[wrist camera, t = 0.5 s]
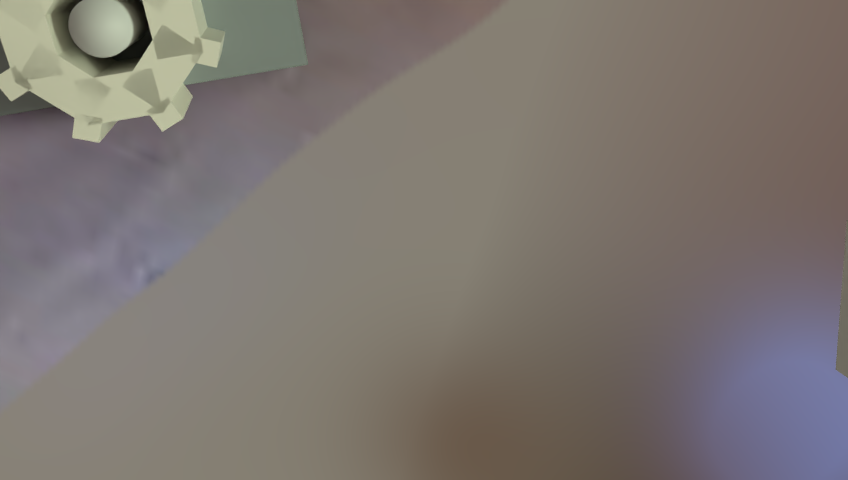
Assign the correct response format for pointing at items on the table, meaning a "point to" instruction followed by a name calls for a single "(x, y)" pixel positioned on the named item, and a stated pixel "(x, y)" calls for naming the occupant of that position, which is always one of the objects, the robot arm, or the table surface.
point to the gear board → (224, 10)
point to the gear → (105, 64)
